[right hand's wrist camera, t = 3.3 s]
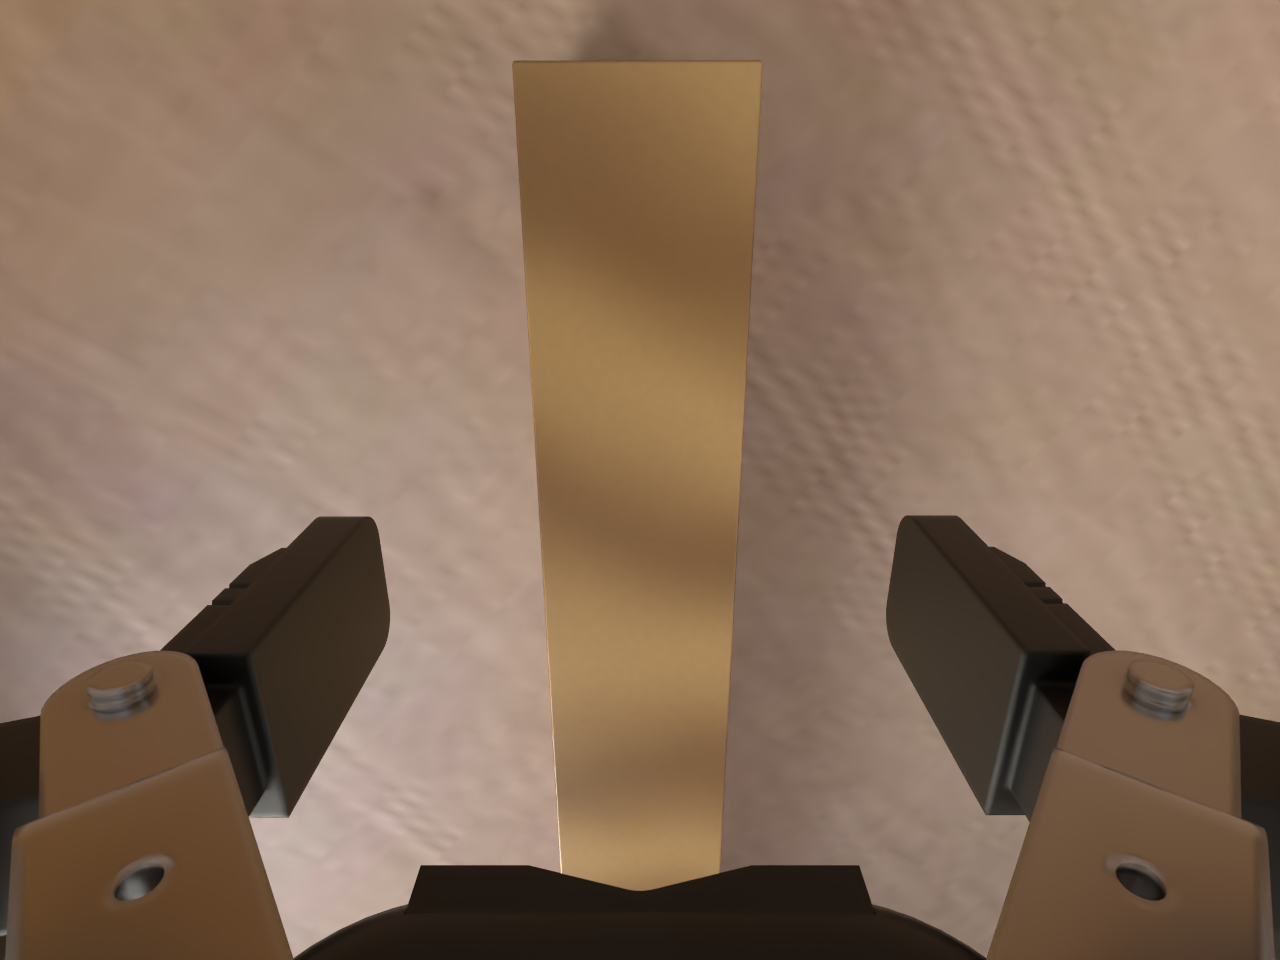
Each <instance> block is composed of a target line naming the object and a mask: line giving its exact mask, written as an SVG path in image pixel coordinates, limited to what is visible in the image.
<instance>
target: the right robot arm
mask: <svg viewBox="0 0 1280 960" xmlns="http://www.w3.org/2000/svg"><path fill="white" fill-rule="evenodd" d="M886 622H887V630H888V635H889V639H890V642H891V645H892V647H893V649H894V651H895V653H896V654H897V656H898V658H899V660H900V662H901V663H902V665H903V667H904V669H905V671H906V672H907V674H908V676H909V678H910V680H911V681H912V683H913V685H914V687H915V689H916V690H917V692H918V694H919V696H920V698H921V699H922V701H923V703H924V705H925V707H926V708H927V710H928V712H929V714H930V716H931V717H932V719H933V721H934V723H935V725H936V726H937V728H938V730H939V732H940V734H941V735H942V737H943V739H944V741H945V743H946V744H947V746H948V748H949V750H950V752H951V753H952V755H953V757H954V759H955V761H956V762H957V764H958V766H959V768H960V770H961V771H962V773H963V775H964V777H965V779H966V780H967V782H968V784H969V786H970V788H971V789H972V791H973V793H974V795H975V797H976V798H977V800H978V802H979V804H980V806H981V807H982V809H983V811H984V813H985V815H1026V817H1027V818H1028V820H1029V822H1030V824H1029V827H1028V830H1027V833H1026V836H1025V839H1024V843H1023V846H1022V849H1021V852H1020V855H1019V858H1018V861H1017V865H1016V868H1015V871H1014V874H1013V877H1012V880H1011V883H1010V887H1009V890H1008V893H1007V896H1006V899H1005V902H1004V906H1003V909H1002V912H1001V915H1000V918H999V921H998V924H997V928H996V931H995V934H994V937H993V940H992V943H991V946H990V950H989V953H988V956H987V958H985V957H984V956H982V955H981V954H979V953H978V952H977V951H975V950H974V949H972V948H971V947H969V946H968V945H966V944H964V943H963V942H961V941H959V940H957V939H956V938H954V937H952V936H950V935H949V934H947V933H945V932H943V931H942V930H940V929H938V928H935V927H933V926H931V925H929V924H927V923H924V922H922V921H920V920H918V919H916V918H914V917H911V916H908V915H905V914H902V913H899V912H896V911H894V910H891V909H888V908H884V907H880V906H877V905H873V904H871V900H870V897H869V894H868V891H867V888H866V885H865V882H864V879H863V876H862V873H861V870H860V867H859V865H751V866H747V867H743V868H739V869H735V870H731V871H726V872H722V873H718V874H714V875H710V876H706V877H702V878H697V879H693V880H689V881H685V882H681V883H677V884H673V885H668V886H664V887H660V888H656V889H652V890H646V891H634V890H628V889H624V888H620V887H616V886H612V885H607V884H603V883H599V882H595V881H591V880H587V879H583V878H578V877H574V876H570V875H566V874H562V873H558V872H554V871H549V870H545V869H541V868H537V867H533V866H529V865H421V867H420V870H419V873H418V876H417V879H416V882H415V885H414V888H413V891H412V894H411V897H410V900H409V903H408V904H407V905H404V906H400V907H396V908H392V909H389V910H386V911H384V912H381V913H378V914H375V915H372V916H369V917H366V918H364V919H362V920H360V921H358V922H356V923H353V924H351V925H349V926H347V927H345V928H342V929H340V930H338V931H337V932H335V933H333V934H331V935H330V936H328V937H326V938H324V939H323V940H321V941H319V942H317V943H316V944H314V945H312V946H311V947H309V948H308V949H306V950H305V951H303V952H302V953H301V954H299V955H298V956H296V957H295V958H293V956H292V953H291V950H290V946H289V943H288V940H287V937H286V934H285V931H284V928H283V924H282V921H281V918H280V915H279V912H278V909H277V906H276V902H275V899H274V896H273V893H272V890H271V887H270V883H269V880H268V877H267V874H266V871H265V868H264V865H263V861H262V858H261V855H260V852H259V849H258V846H257V843H256V839H255V836H254V833H253V830H252V827H251V824H250V821H249V818H289V816H290V814H291V812H292V811H293V809H294V807H295V805H296V803H297V802H298V800H299V798H300V796H301V795H302V793H303V791H304V789H305V787H306V786H307V784H308V782H309V780H310V779H311V777H312V775H313V773H314V771H315V770H316V768H317V766H318V764H319V763H320V761H321V759H322V757H323V755H324V754H325V752H326V750H327V748H328V747H329V745H330V743H331V741H332V739H333V738H334V736H335V734H336V732H337V731H338V729H339V727H340V725H341V723H342V722H343V720H344V718H345V716H346V715H347V713H348V711H349V709H350V707H351V706H352V704H353V702H354V700H355V699H356V697H357V695H358V693H359V691H360V690H361V688H362V686H363V684H364V683H365V681H366V679H367V677H368V676H369V674H370V672H371V670H372V668H373V667H374V665H375V663H376V661H377V660H378V658H379V656H380V654H381V652H382V651H383V649H384V647H385V644H386V641H387V637H388V633H389V626H390V607H389V599H388V593H387V586H386V579H385V572H384V566H383V559H382V552H381V546H380V539H379V533H378V529H377V526H376V523H375V521H374V520H373V519H372V518H371V517H318V518H316V519H315V520H314V521H313V522H312V523H311V524H310V525H309V526H308V527H307V528H306V529H305V530H304V531H303V532H302V533H301V534H300V535H299V536H298V537H297V538H296V539H295V540H294V541H293V542H292V543H291V544H290V545H289V546H288V547H287V548H281V549H279V550H277V551H275V552H273V553H271V554H269V555H268V556H266V557H264V558H262V559H260V560H258V561H256V562H254V563H252V564H251V565H249V566H248V567H247V568H246V569H245V570H244V571H243V572H242V573H241V574H240V575H239V576H238V577H237V578H236V579H235V580H234V581H232V582H231V583H230V584H229V588H225V589H224V590H223V591H222V592H221V593H220V594H219V595H218V596H217V597H216V598H215V599H214V600H213V601H212V605H207V606H206V607H205V608H204V609H203V610H202V611H201V612H200V613H199V614H198V615H197V616H196V617H195V618H194V619H193V620H192V621H191V622H189V623H188V624H187V625H186V626H185V627H184V628H183V629H182V630H181V631H180V632H179V633H178V634H177V635H176V636H175V637H174V638H173V639H172V640H171V641H170V642H168V643H167V644H166V645H165V646H164V647H163V648H162V649H161V650H160V651H150V652H142V653H137V654H132V655H128V656H124V657H121V658H117V659H114V660H111V661H108V662H105V663H103V664H101V665H98V666H96V667H93V668H91V669H89V670H87V671H85V672H83V673H81V674H80V675H78V676H76V677H75V678H73V679H71V680H70V681H68V682H67V683H65V684H64V685H63V686H61V687H60V688H59V689H58V690H57V691H55V692H54V693H53V694H52V695H51V696H50V698H49V699H48V700H47V701H46V703H45V704H44V706H43V708H42V711H41V716H37V717H32V718H26V719H21V720H16V721H11V722H5V723H0V960H1280V722H1275V721H1269V720H1264V719H1259V718H1254V717H1249V716H1243V715H1239V711H1238V708H1237V706H1236V704H1235V703H1234V701H1233V700H1232V699H1231V698H1230V696H1229V695H1228V694H1227V693H1226V692H1225V691H1223V690H1222V689H1221V688H1220V687H1219V686H1217V685H1216V684H1215V683H1213V682H1212V681H1210V680H1209V679H1207V678H1205V677H1204V676H1202V675H1200V674H1199V673H1197V672H1195V671H1193V670H1191V669H1189V668H1187V667H1184V666H1182V665H1179V664H1177V663H1175V662H1172V661H1169V660H1166V659H1163V658H1159V657H1156V656H1152V655H1148V654H1143V653H1138V652H1130V651H1116V650H1115V649H1114V648H1112V647H1111V646H1110V645H1109V644H1108V643H1107V642H1106V641H1105V640H1104V639H1103V638H1102V637H1101V636H1100V635H1099V634H1098V633H1097V632H1096V631H1095V630H1094V629H1093V628H1092V627H1091V626H1090V625H1089V624H1088V623H1086V622H1085V621H1084V620H1083V619H1082V618H1081V617H1080V616H1079V615H1078V614H1077V613H1076V612H1075V611H1074V610H1073V609H1072V608H1071V607H1070V606H1069V605H1068V604H1063V602H1062V598H1060V597H1059V596H1058V595H1057V594H1056V593H1055V592H1054V591H1053V590H1052V589H1051V588H1050V587H1046V586H1045V582H1044V581H1043V580H1042V579H1041V578H1040V577H1039V576H1038V575H1037V574H1036V573H1035V572H1033V571H1032V570H1031V569H1030V568H1029V567H1028V566H1027V565H1026V564H1025V563H1023V562H1021V561H1019V560H1018V559H1016V558H1014V557H1012V556H1010V555H1008V554H1006V553H1004V552H1003V551H1001V550H999V549H997V548H995V547H988V546H987V545H986V544H985V543H984V542H983V541H982V540H981V539H980V538H979V537H978V536H977V535H976V534H975V533H974V531H973V530H972V529H971V528H970V527H969V526H968V525H967V524H966V523H965V522H964V521H963V520H962V519H961V518H959V517H958V516H905V517H904V518H903V519H902V520H901V522H900V525H899V528H898V532H897V538H896V545H895V552H894V559H893V565H892V572H891V579H890V586H889V593H888V600H887V608H886Z"/></svg>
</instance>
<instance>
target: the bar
mask: <svg viewBox="0 0 1280 960" xmlns="http://www.w3.org/2000/svg"><path fill="white" fill-rule="evenodd" d="M512 66H513V83H514V100H515V116H516V133H517V150H518V167H519V183H520V200H521V217H522V234H523V251H524V267H525V284H526V301H527V318H528V334H529V351H530V368H531V385H532V402H533V418H534V435H535V452H536V469H537V485H538V502H539V519H540V536H541V553H542V569H543V586H544V603H545V620H546V637H547V653H548V670H549V687H550V704H551V720H552V737H553V754H554V771H555V788H556V804H557V821H558V838H559V855H560V871H561V873H562V874H566V875H570V876H574V877H578V878H583V879H587V880H591V881H595V882H599V883H603V884H607V885H612V886H616V887H620V888H624V889H628V890H634V891H646V890H652V889H656V888H660V887H664V886H668V885H673V884H677V883H681V882H685V881H689V880H693V879H697V878H702V877H706V876H710V875H714V874H718V873H720V864H721V845H722V826H723V807H724V788H725V769H726V750H727V731H728V712H729V693H730V674H731V656H732V637H733V618H734V599H735V580H736V561H737V542H738V523H739V504H740V485H741V466H742V447H743V428H744V409H745V390H746V371H747V353H748V334H749V315H750V296H751V277H752V258H753V239H754V220H755V201H756V182H757V163H758V144H759V125H760V106H761V87H762V69H763V63H762V61H761V60H640V61H514V62H513V64H512Z"/></svg>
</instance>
